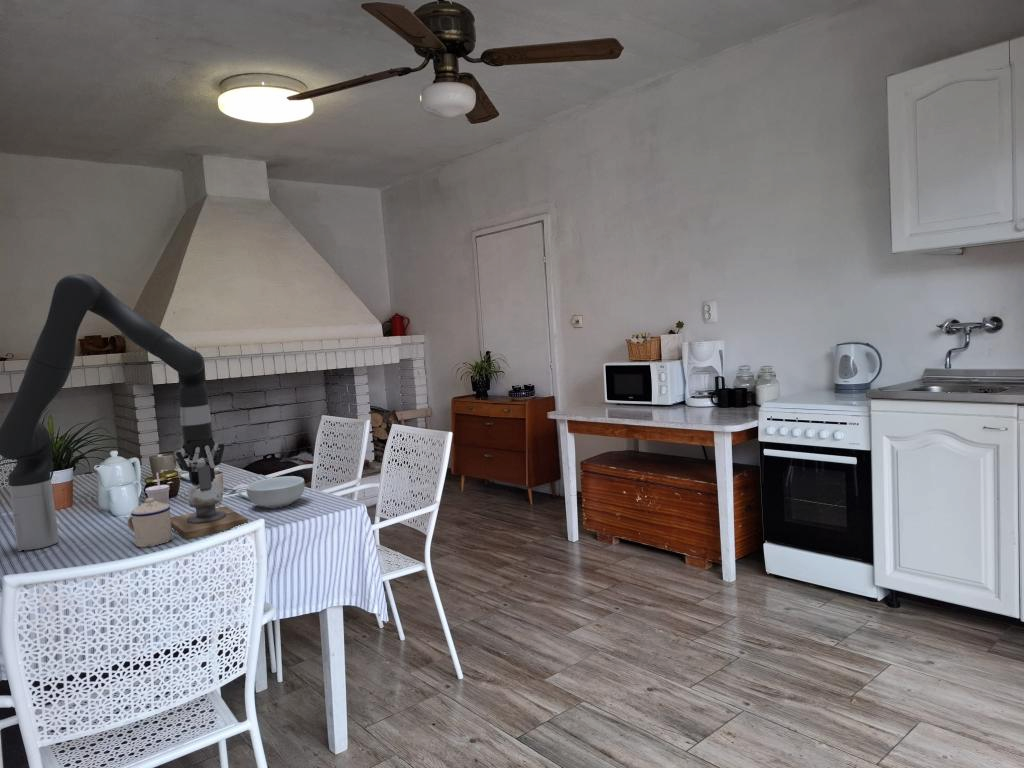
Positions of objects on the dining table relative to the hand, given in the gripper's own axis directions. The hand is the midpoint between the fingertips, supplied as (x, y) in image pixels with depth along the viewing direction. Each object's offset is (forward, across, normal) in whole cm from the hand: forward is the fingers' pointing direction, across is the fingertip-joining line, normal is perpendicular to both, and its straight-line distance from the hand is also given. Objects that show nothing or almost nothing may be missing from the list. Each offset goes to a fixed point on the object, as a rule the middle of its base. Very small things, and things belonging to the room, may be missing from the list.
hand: (203, 482), depth 193 cm
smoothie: (+12, -5, +20) cm, 24 cm away
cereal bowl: (+12, +23, +2) cm, 26 cm away
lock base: (+12, 0, 0) cm, 12 cm away
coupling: (+6, 0, +1) cm, 6 cm away
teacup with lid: (+12, -16, -1) cm, 20 cm away
